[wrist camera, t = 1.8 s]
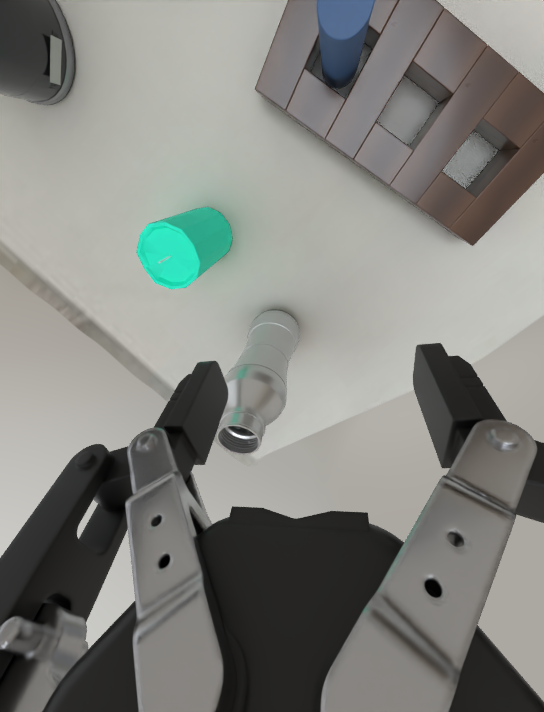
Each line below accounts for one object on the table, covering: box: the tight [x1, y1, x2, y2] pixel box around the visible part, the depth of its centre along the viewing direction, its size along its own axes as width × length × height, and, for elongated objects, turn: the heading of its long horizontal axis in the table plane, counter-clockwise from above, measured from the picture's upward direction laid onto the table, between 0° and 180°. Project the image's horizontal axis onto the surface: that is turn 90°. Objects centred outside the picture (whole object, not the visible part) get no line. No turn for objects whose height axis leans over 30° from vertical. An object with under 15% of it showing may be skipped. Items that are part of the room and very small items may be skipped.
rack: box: [255, 0, 544, 246], centre depth 24 cm, size 24×10×4 cm, turn 60°
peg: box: [317, 0, 375, 88], centre depth 20 cm, size 3×3×12 cm
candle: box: [136, 207, 233, 289], centre depth 30 cm, size 6×6×12 cm
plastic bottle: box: [217, 310, 300, 454], centre depth 31 cm, size 6×7×20 cm
